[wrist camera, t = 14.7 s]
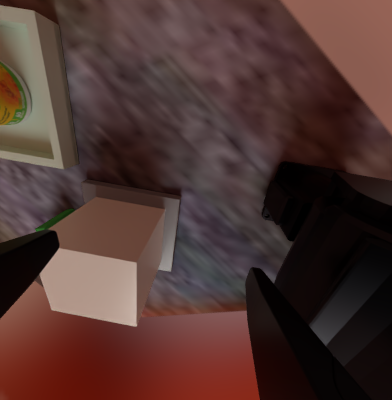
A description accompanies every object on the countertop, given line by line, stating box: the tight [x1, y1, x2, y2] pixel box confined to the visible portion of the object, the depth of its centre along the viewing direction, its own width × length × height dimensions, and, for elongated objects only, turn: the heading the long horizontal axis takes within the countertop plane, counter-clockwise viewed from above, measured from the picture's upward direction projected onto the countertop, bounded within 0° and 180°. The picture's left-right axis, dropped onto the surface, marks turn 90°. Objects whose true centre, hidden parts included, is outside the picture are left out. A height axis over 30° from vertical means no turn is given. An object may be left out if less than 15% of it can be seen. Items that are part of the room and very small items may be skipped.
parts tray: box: [0, 5, 79, 169], centre depth 16 cm, size 12×12×2 cm
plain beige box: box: [40, 179, 181, 326], centre depth 18 cm, size 11×11×9 cm
